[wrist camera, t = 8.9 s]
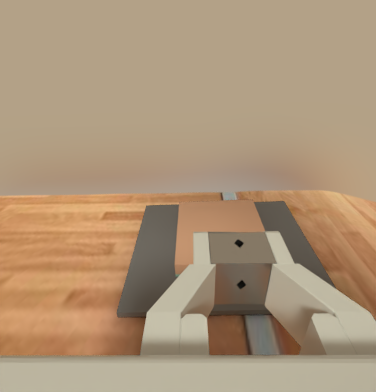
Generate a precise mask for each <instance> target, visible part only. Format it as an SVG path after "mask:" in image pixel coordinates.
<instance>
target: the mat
mask: <svg viewBox="0 0 376 392" xmlns="http://www.w3.org/2000/svg"><path fill="white" fill-rule="evenodd" d="M254 204H255V207H256V209H257V212H258V214H259V217H260V219H261V222H262V224H263V227H264V229H265V231H278V232H280V234H281V236H282V238H283V240H284V242H285V244H286V246H287V249H288V251H289V253H290V255H291V257H292V259H293V261H294V263H295V264H300V265H302V266H303V267H305V268H306V269H308V270H309V271H311V272H312V273H313V274H315V275H316V276H318V277H319V278H321V279H322V280H324V281H325V282H327V283H328V284H329V285H331V286H332V287H334V288H335V286H334V284H333V283H332V281H331V279H330V278H329V276H328V274H327V273H326V271H325V269H324V268H323V266H322V264H321V262H320V261H319V259H318V257H317V256H316V254H315V252H314V251H313V249H312V247H311V246H310V244H309V242H308V241H307V239H306V237H305V236H304V234H303V232H302V231H301V229H300V227H299V226H298V224H297V222H296V221H295V219H294V217H293V216H292V214H291V212H290V211H289V209H288V207H287V206H286V204H285V202H284V201H275V202H254ZM178 212H179V205H152V206H146V209H145V213H144V216H143V220H142V224H141V227H140V231H139V234H138V238H137V241H136V245H135V249H134V252H133V256H132V259H131V263H130V267H129V270H128V274H127V277H126V281H125V284H124V288H123V292H122V295H121V299H120V302H119V306H118V310H117V316H118V317H146V315H147V312H148V311H149V310H150V309H151V307H152V306H153V305H154V304H155V303H156V302H157V301H158V299H159V298H160V297H161V296H162V295H163V294H164V293H165V291H166V290H167V289H168V288H169V287H170V286H171V285H172V283H173V282H174V281H175V280H176V279H177V278H178V277H179V276H177V277H176V275H175V252H176V239H177V225H178ZM335 289H336V288H335ZM255 314H272V313H271V312H270V311H269V310H268V309H267V308H266V307H265V304H215V305H214V307H213V309H212V311H211V312H210V314H209V315H255Z"/></svg>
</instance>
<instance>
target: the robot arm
mask: <svg viewBox="0 0 376 392" xmlns="http://www.w3.org/2000/svg"><path fill="white" fill-rule="evenodd" d="M215 304H265V307H266V308H267V309H268V310H269V311H270V312H271V313H272V315H273V316H274V317H275V318H276V319H277V320H278V321H279V323H280V324H281V325H282V326H283V327H284V328H285V329H286V330H287V332H288V333H289V334H290V335H291V336H292V337H293V338H294V339H295V341H296V342H297V343H298V344H299V345H300V346H301V349H300V352H299V355H209V341H208V327H207V318H208V316H209V314H210V312H211V311H212V309H213V307H214V305H215ZM0 392H376V321H375V319H374V318H373V316H372V315H371V313H370V312H369V311H367V310H366V309H364V308H363V307H361V306H360V305H358V304H357V303H356V302H354V301H353V300H351V299H350V298H348V297H347V296H345V295H344V294H342V293H341V292H340V291H338V290H337V289H335V288H334V287H332V286H331V285H329V284H328V283H327V282H325V281H324V280H322V279H321V278H319V277H318V276H316V275H315V274H313V273H312V272H311V271H309V270H308V269H306V268H305V267H303V266H302V265H300V264H295V263H294V261H293V259H292V257H291V255H290V253H289V251H288V249H287V246H286V244H285V242H284V240H283V238H282V236H281V234H280V232H278V231H264V232H193V264H189V265H188V266H187V267H186V269H185V270H184V271H183V272H182V273H181V274H180V275H179V277H178V278H177V279H176V280H175V281H174V282H173V283H172V285H171V286H170V287H169V288H168V289H167V290H166V291H165V293H164V294H163V295H162V296H161V297H160V298H159V299H158V301H157V302H156V303H155V304H154V305H153V306H152V307H151V309H150V310H149V311H148V312H147V315H146V321H145V327H144V333H143V339H142V345H141V351H140V355H0Z"/></svg>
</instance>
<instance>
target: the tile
mask: <svg viewBox="0 0 376 392" xmlns="http://www.w3.org/2000/svg"><path fill="white" fill-rule="evenodd" d="M264 231H265V229H264V227H263V224H262V222H261V219H260V217H259V214H258V212H257V209H256V207H255V204H254V202H253V200H224V201H193V202H179V212H178V225H177V239H176V252H175V275H176V277H177V276H179V275H180V274H181V273H182V272H183V271H184V270H185V269H186V267H187V266H188V265H189V264H193V232H264Z"/></svg>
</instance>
